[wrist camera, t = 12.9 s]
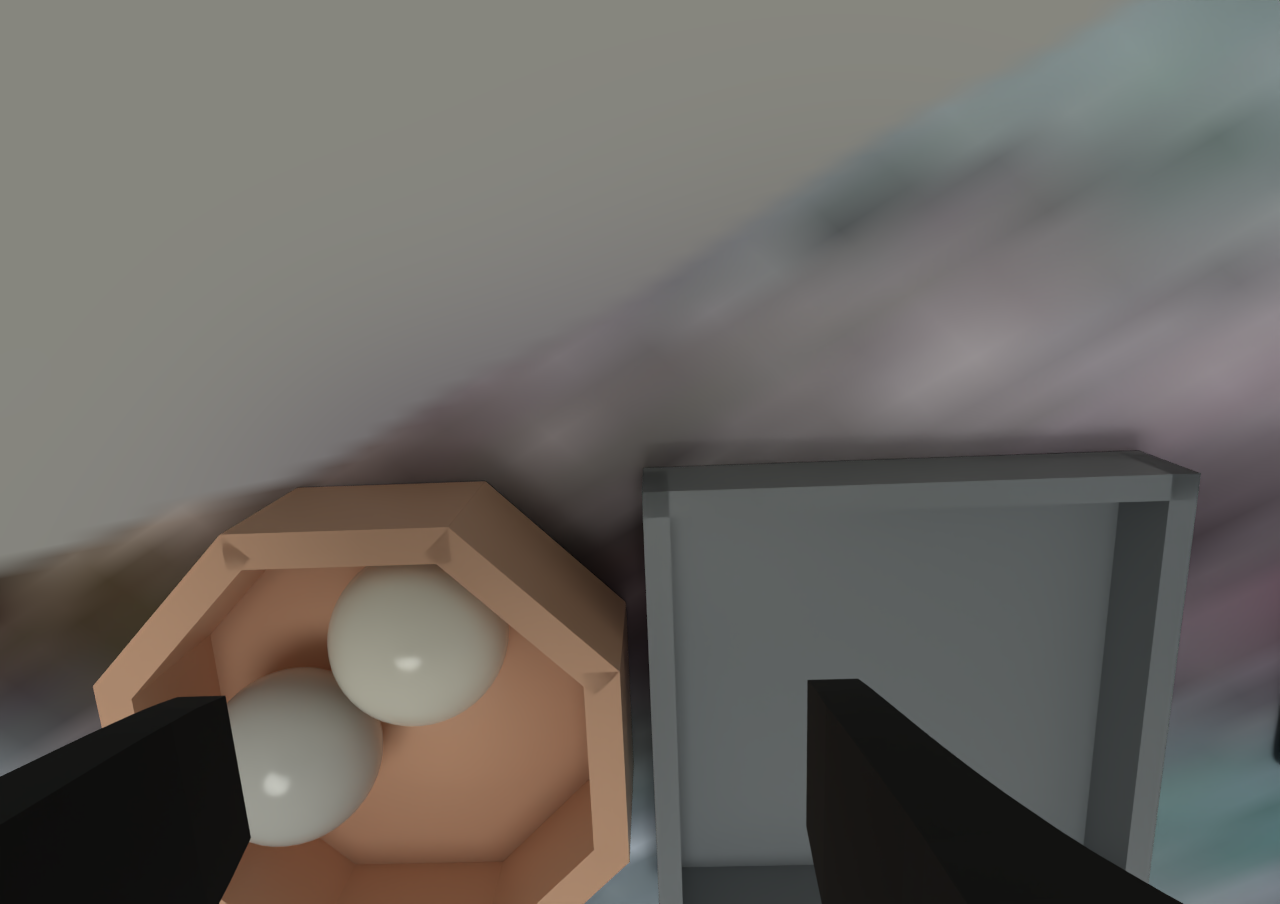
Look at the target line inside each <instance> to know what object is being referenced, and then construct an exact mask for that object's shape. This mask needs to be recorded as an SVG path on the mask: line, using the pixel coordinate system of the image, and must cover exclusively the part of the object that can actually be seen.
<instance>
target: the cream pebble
mask: <svg viewBox="0 0 1280 904" xmlns="http://www.w3.org/2000/svg"><path fill="white" fill-rule="evenodd" d="M508 641H509V624H508V623H506V622H505V621H504V620H503V619H502V618H500V617H499V616H498V615H497V614H496V613H494V612H493V611H492V610H491V609H490V608H488V607H487V606H486V605H485V604H484V603H482V602H481V601H480V600H479V599H478V598H476V597H475V596H474V595H473V594H472V593H470V592H469V591H468V590H467V589H466V588H464V587H463V586H462V585H461V584H460V583H458V582H457V581H456V580H455V579H454V578H452V577H451V576H450V575H449V574H448V573H446V572H445V571H444V570H443V569H442V568H440V567H439V566H438V565H437V564H419V565H387V566H366V567H365V568H363V569H362V570H361V571H360V572H359V573H358V574H357V575H356V576H355V577H354V578H353V579H352V580H351V581H350V582H349V584H348V585H347V586H346V588H345V589H344V590H343V592H342V593H341V595H340V597H339V599H338V600H337V602H336V605H335V607H334V609H333V612H332V615H331V618H330V622H329V627H328V634H327V649H328V657H329V662H330V665H331V669H332V672H333V675H334V677H335V679H336V681H337V683H338V685H339V687H340V688H341V690H342V691H343V693H344V694H345V695H346V696H347V697H348V698H349V700H350V701H351V702H352V703H353V704H354V705H356V706H357V707H358V708H359V709H360V710H362V711H363V712H365V713H366V714H368V715H369V716H371V717H373V718H375V719H378V720H380V721H382V722H386V723H390V724H393V725H400V726H426V725H432V724H436V723H439V722H443V721H446V720H448V719H450V718H453V717H455V716H457V715H459V714H460V713H462V712H464V711H465V710H467V709H468V708H469V707H471V706H472V705H473V704H475V703H476V702H477V701H478V700H479V699H480V698H481V697H482V696H483V695H484V694H485V693H486V692H487V690H488V689H489V688H490V687H491V685H492V684H493V682H494V681H495V679H496V677H497V676H498V674H499V672H500V669H501V667H502V665H503V662H504V659H505V656H506V652H507V647H508Z"/></svg>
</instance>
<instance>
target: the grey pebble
mask: <svg viewBox="0 0 1280 904" xmlns="http://www.w3.org/2000/svg"><path fill="white" fill-rule="evenodd" d="M227 707H228V713H229V718H230V724H231V729H232V735H233V740H234V746H235V752H236V757H237V763H238V768H239V774H240V779H241V785H242V791H243V796H244V802H245V807H246V813H247V818H248V824H249V829H250V835H251V839H250V841H249V842H250V843H254V844H258V845H261V846H270V847H286V846H293V845H299V844H303V843H306V842H310V841H313V840H315V839H317V838H320V837H322V836H324V835H326V834H327V833H329V832H331V831H333V830H334V829H336V828H337V827H338V826H340V825H341V824H342V823H344V822H345V821H346V820H347V819H348V818H349V817H350V816H351V815H352V814H354V813H355V812H356V810H357V809H358V808H359V807H360V805H361V804H362V803H363V802H364V800H365V799H366V797H367V796H368V794H369V792H370V791H371V789H372V787H373V785H374V783H375V781H376V778H377V776H378V773H379V769H380V766H381V762H382V756H383V732H382V726H381V721H380V720H378V719H375V718H373V717H371V716H369V715H368V714H366V713H365V712H363V711H362V710H360V709H359V708H358V707H357V706H356V705H354V704H353V703H352V702H351V701H350V700H349V698H348V697H347V696H346V695H345V694H344V693H343V691H342V690H341V688H340V687H339V685H338V683H337V681H336V679H335V677H334V675H333V672H332V671H330V670H326V669H321V668H315V667H295V668H289V669H284V670H280V671H277V672H273V673H270V674H268V675H266V676H263V677H261V678H259V679H257V680H255V681H254V682H252V683H250V684H249V685H247V686H246V687H244V688H243V689H242V690H240V691H239V692H238V693H237V694H236V695H235V696H234V697H233V698H232V699H230V700H229V701H228V703H227Z"/></svg>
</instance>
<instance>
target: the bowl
mask: <svg viewBox="0 0 1280 904" xmlns="http://www.w3.org/2000/svg"><path fill="white" fill-rule="evenodd" d="M419 564H437V565H438V566H439V567H440V568H442V569H443V570H444V571H445V572H446V573H448V574H449V575H450V576H451V577H452V578H454V579H455V580H456V581H457V582H458V583H460V584H461V585H462V586H463V587H464V588H466V589H467V590H468V591H469V592H470V593H472V594H473V595H474V596H475V597H476V598H478V599H479V600H480V601H481V602H482V603H484V604H485V605H486V606H487V607H488V608H490V609H491V610H492V611H493V612H494V613H496V614H497V615H498V616H499V617H500V618H502V619H503V620H504V621H505V622H506V623H508V624H509V641H508V647H507V652H506V656H505V659H504V662H503V665H502V667H501V669H500V672H499V674H498V676H497V677H496V679H495V681H494V682H493V684H492V685H491V687H490V688H489V689H488V690H487V692H486V693H485V694H484V695H483V696H482V697H481V698H480V699H479V700H478V701H477V702H476V703H475V704H473V705H472V706H471V707H469V708H468V709H467V710H465V711H464V712H462V713H460V714H459V715H457V716H455V717H453V718H450V719H448V720H446V721H443V722H439V723H436V724H432V725H426V726H400V725H393V724H390V723H386V722H382V721H381V726H382V732H383V756H382V762H381V766H380V769H379V773H378V776H377V778H376V781H375V783H374V785H373V787H372V789H371V791H370V792H369V794H368V796H367V797H366V799H365V800H364V802H363V803H362V804H361V805H360V807H359V808H358V809H357V810H356V812H355V813H354V814H352V815H351V816H350V817H349V818H348V819H347V820H346V821H345V822H344V823H342V824H341V825H340V826H338V827H337V828H336V829H334V830H333V831H331V832H329V833H327V834H326V835H324V836H322V837H320V838H317V839H315V840H313V841H310V842H306V843H303V844H299V845H293V846H286V847H270V846H261V845H258V844H254V843H250V842H249V843H248V845H247V848H246V850H245V852H244V854H243V856H242V858H241V860H240V862H239V865H238V867H237V869H236V871H235V873H234V875H233V877H232V879H231V881H230V884H229V885H228V887H227V889H226V891H225V893H224V895H223V897H222V899H221V901H220V903H219V904H584V903H585V902H586V901H587V900H588V899H589V898H591V897H592V896H593V895H594V894H595V893H596V892H597V891H598V890H599V889H600V888H602V887H603V886H604V885H605V884H606V883H607V882H608V881H609V880H610V879H611V878H612V877H614V876H615V875H616V874H617V873H618V872H619V871H620V870H621V869H622V868H623V867H624V866H626V865H627V864H628V863H629V862H630V839H631V816H632V793H633V770H634V760H633V739H632V718H631V698H630V677H629V656H628V636H627V615H626V602H625V601H624V600H623V599H621V598H620V597H619V596H618V595H617V594H616V593H615V592H613V591H612V590H611V589H610V588H609V587H608V586H606V585H605V584H604V583H603V582H602V581H601V580H599V579H598V578H597V577H596V576H595V575H594V574H592V573H591V572H590V571H589V570H588V569H587V568H586V567H584V566H583V565H582V564H581V563H580V562H579V561H577V560H576V559H575V558H574V557H573V556H572V555H570V554H569V553H568V552H567V551H566V550H565V549H563V548H562V547H561V546H560V545H559V544H558V543H556V542H555V541H554V540H553V539H552V538H551V537H550V536H548V535H547V534H546V533H545V532H544V531H543V530H541V529H540V528H539V527H538V526H537V525H536V524H534V523H533V522H532V521H531V520H530V519H529V518H527V517H526V516H525V515H524V514H523V513H522V512H521V511H519V510H518V509H517V508H516V507H515V506H514V505H512V504H511V503H510V502H509V501H508V500H507V499H505V498H504V497H503V496H502V495H501V494H500V493H498V492H497V491H496V490H495V489H494V488H493V487H492V486H490V485H489V484H488V483H487V482H486V481H475V482H446V483H417V484H388V485H359V486H330V487H302V488H296V489H294V490H293V491H291V492H289V493H288V494H286V495H284V496H283V497H281V498H279V499H278V500H276V501H275V502H273V503H271V504H270V505H268V506H266V507H265V508H263V509H261V510H260V511H258V512H256V513H255V514H253V515H251V516H250V517H248V518H246V519H245V520H243V521H241V522H240V523H238V524H237V525H235V526H233V527H232V528H230V529H228V530H227V531H225V532H223V533H222V534H220V535H219V536H218V537H217V538H216V540H215V541H214V542H213V543H212V544H211V546H210V547H209V548H208V549H207V550H206V552H205V553H204V554H203V555H202V556H201V558H200V559H199V560H198V561H197V562H196V564H195V565H194V566H193V567H192V568H191V570H190V571H189V572H188V573H187V574H186V576H185V577H184V578H183V579H182V580H181V582H180V583H179V584H178V585H177V586H176V588H175V589H174V590H173V591H172V592H171V594H170V595H169V596H168V597H167V598H166V599H165V601H164V602H163V603H162V604H161V605H160V607H159V608H158V609H157V610H156V611H155V613H154V614H153V615H152V616H151V617H150V619H149V620H148V621H147V622H146V623H145V625H144V626H143V627H142V628H141V629H140V631H139V632H138V633H137V634H136V635H135V637H134V638H133V639H132V640H131V641H130V643H129V644H128V645H127V646H126V647H125V649H124V650H123V651H122V652H121V653H120V655H119V656H118V657H117V658H116V659H115V661H114V662H113V663H112V664H111V665H110V667H109V668H108V669H107V670H106V671H105V673H104V674H103V675H102V676H101V677H100V678H99V680H98V681H97V682H96V683H95V684H94V686H93V689H94V693H95V698H96V702H97V707H98V711H99V716H100V720H101V725H102V728H103V727H106V726H108V725H110V724H112V723H114V722H116V721H119V720H121V719H123V718H125V717H128V716H130V715H132V714H134V713H137V712H139V711H141V710H144V709H146V708H149V707H151V706H154V705H156V704H159V703H162V702H165V701H167V700H170V699H173V698H176V697H194V696H226V702H227V703H228V701H229V700H230V699H232V698H233V697H234V696H235V695H236V694H237V693H238V692H239V691H240V690H242V689H243V688H244V687H246V686H247V685H249V684H250V683H252V682H254V681H255V680H257V679H259V678H261V677H263V676H266V675H268V674H270V673H273V672H277V671H280V670H284V669H289V668H295V667H315V668H321V669H326V670H330V671H332V669H331V665H330V662H329V657H328V649H327V634H328V627H329V622H330V618H331V615H332V612H333V609H334V607H335V605H336V602H337V600H338V599H339V597H340V595H341V593H342V592H343V590H344V589H345V588H346V586H347V585H348V584H349V582H350V581H351V580H352V579H353V578H354V577H355V576H356V575H357V574H358V573H359V572H360V571H361V570H362V569H363V568H365V567H366V566H387V565H419Z"/></svg>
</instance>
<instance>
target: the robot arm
mask: <svg viewBox="0 0 1280 904" xmlns="http://www.w3.org/2000/svg"><path fill="white" fill-rule="evenodd" d="M806 828H807V833H808V838H809V843H810V848H811V853H812V858H813V863H814V869H815V874H816V878H817V883H818V888H819V893H820V897H821V902H822V904H1183V903H1181V902H1179V901H1177V900H1176V899H1174V898H1172V897H1170V896H1168V895H1167V894H1165V893H1163V892H1161V891H1160V890H1158V889H1156V888H1154V887H1153V886H1151V885H1149V884H1148V883H1146V882H1144V881H1143V880H1141V879H1139V878H1137V877H1136V876H1134V875H1132V874H1131V873H1129V872H1127V871H1126V870H1124V869H1122V868H1120V867H1119V866H1117V865H1115V864H1114V863H1112V862H1110V861H1108V860H1107V859H1105V858H1103V857H1102V856H1100V855H1098V854H1097V853H1095V852H1093V851H1092V850H1090V849H1088V848H1087V847H1085V846H1084V845H1082V844H1081V843H1079V842H1077V841H1076V840H1074V839H1073V838H1071V837H1069V836H1068V835H1066V834H1065V833H1063V832H1062V831H1060V830H1059V829H1057V828H1056V827H1054V826H1053V825H1051V824H1050V823H1048V822H1047V821H1045V820H1044V819H1042V818H1041V817H1040V816H1038V815H1037V814H1035V813H1034V812H1032V811H1031V810H1029V809H1028V808H1026V807H1025V806H1023V805H1022V804H1021V803H1019V802H1018V801H1016V800H1015V799H1013V798H1012V797H1010V796H1009V795H1007V794H1006V793H1005V792H1003V791H1002V790H1000V789H999V788H998V787H996V786H995V785H994V784H992V783H991V782H989V781H988V780H987V779H985V778H984V777H983V776H981V775H980V774H978V773H977V772H976V771H974V770H973V769H972V768H971V767H969V766H968V765H967V764H965V763H964V762H963V761H961V760H960V759H959V758H957V757H956V756H955V755H953V754H952V753H951V752H950V751H948V750H947V749H946V748H944V747H943V746H942V745H941V744H939V743H938V742H937V741H936V740H934V739H933V738H932V737H931V736H929V735H928V734H927V733H926V732H924V731H923V730H922V729H921V728H919V727H918V726H917V725H916V724H914V723H913V722H912V721H911V720H909V719H908V718H907V717H906V716H905V715H903V714H902V713H901V712H900V711H898V710H897V709H896V708H895V707H894V706H892V705H891V704H890V703H889V702H887V701H886V700H885V699H884V698H883V697H881V696H880V695H879V694H878V693H876V692H875V691H874V690H873V689H871V688H870V687H869V686H868V685H866V684H865V683H864V682H862V681H861V680H859V679H822V680H807V789H806ZM250 839H251V835H250V829H249V824H248V818H247V813H246V807H245V802H244V796H243V791H242V785H241V779H240V774H239V768H238V763H237V757H236V752H235V746H234V740H233V735H232V729H231V724H230V718H229V713H228V707H227V702H226V696H194V697H176V698H173V699H170V700H167V701H165V702H162V703H159V704H156V705H154V706H151V707H149V708H146V709H144V710H141V711H139V712H137V713H134V714H132V715H130V716H128V717H125V718H123V719H121V720H119V721H116V722H114V723H112V724H110V725H108V726H106V727H103V728H101V729H99V730H97V731H95V732H93V733H91V734H88V735H86V736H84V737H82V738H80V739H78V740H76V741H74V742H72V743H70V744H67V745H65V746H63V747H61V748H59V749H57V750H55V751H53V752H51V753H49V754H47V755H45V756H42V757H40V758H38V759H36V760H34V761H32V762H30V763H28V764H26V765H24V766H22V767H20V768H17V769H15V770H13V771H11V772H9V773H7V774H5V775H3V776H1V777H0V904H219V903H220V901H221V899H222V897H223V895H224V893H225V891H226V889H227V887H228V885H229V884H230V881H231V879H232V877H233V875H234V873H235V871H236V869H237V867H238V865H239V862H240V860H241V858H242V856H243V854H244V852H245V850H246V848H247V845H248V843H249V841H250Z"/></svg>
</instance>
